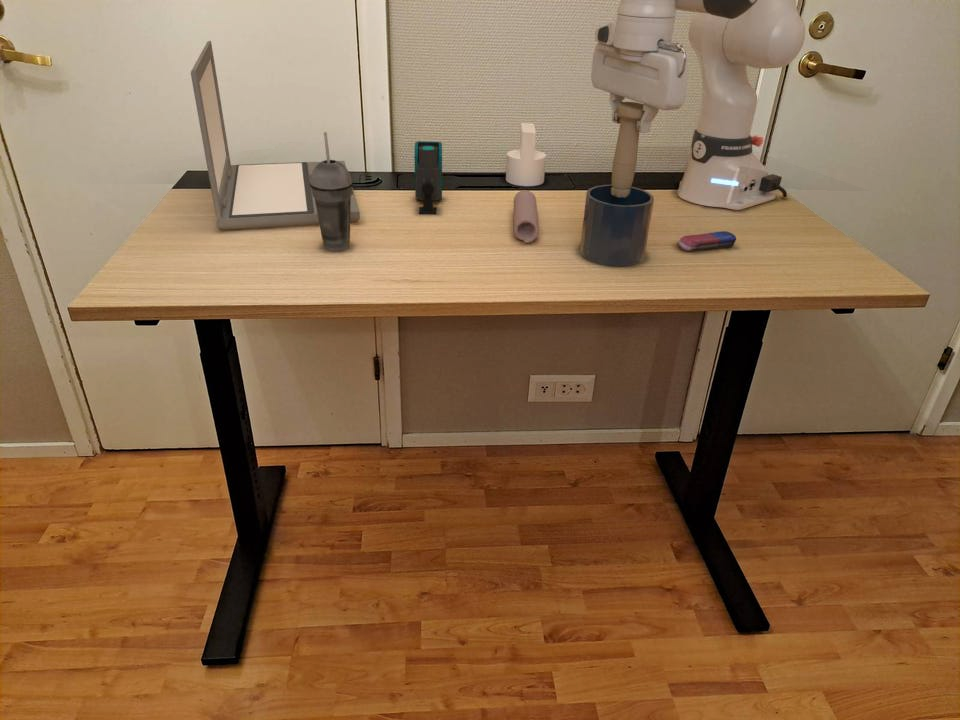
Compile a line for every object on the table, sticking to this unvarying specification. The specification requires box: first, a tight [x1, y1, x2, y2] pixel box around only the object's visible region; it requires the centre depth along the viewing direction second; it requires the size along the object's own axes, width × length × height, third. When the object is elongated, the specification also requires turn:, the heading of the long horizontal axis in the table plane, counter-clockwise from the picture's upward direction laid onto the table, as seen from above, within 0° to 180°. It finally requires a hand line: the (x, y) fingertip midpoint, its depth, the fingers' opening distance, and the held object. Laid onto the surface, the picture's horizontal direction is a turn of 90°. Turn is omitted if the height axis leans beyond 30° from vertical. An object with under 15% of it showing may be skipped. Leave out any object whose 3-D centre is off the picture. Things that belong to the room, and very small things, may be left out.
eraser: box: [678, 230, 737, 252], centre depth 131 cm, size 11×4×2 cm, turn 107°
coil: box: [513, 189, 540, 244], centre depth 136 cm, size 5×5×18 cm
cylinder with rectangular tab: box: [505, 122, 547, 187], centre depth 160 cm, size 9×9×12 cm
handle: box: [611, 101, 645, 198], centre depth 117 cm, size 5×6×15 cm
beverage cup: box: [310, 131, 354, 253], centre depth 120 cm, size 7×7×20 cm
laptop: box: [190, 40, 361, 231], centre depth 139 cm, size 35×26×28 cm
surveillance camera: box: [413, 140, 443, 215], centre depth 142 cm, size 6×12×10 cm
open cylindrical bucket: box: [579, 184, 655, 268], centre depth 124 cm, size 12×12×11 cm
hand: (629, 127), depth 115 cm, fingers closed on handle, 5 cm apart
